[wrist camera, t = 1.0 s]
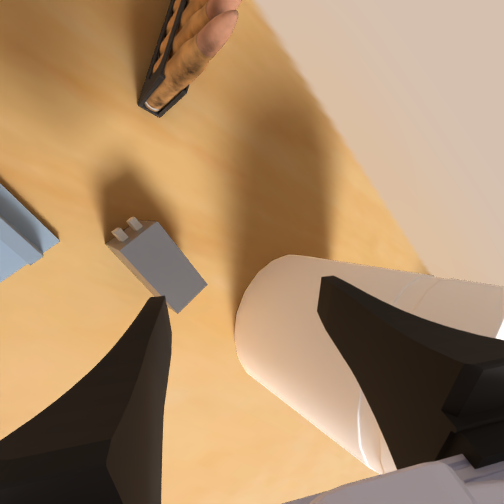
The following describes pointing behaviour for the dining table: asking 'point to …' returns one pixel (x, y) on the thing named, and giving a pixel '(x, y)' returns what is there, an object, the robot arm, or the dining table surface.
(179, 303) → the charcoal plug
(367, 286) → the canister
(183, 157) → the dining table surface
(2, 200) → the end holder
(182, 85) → the ammunition clip
